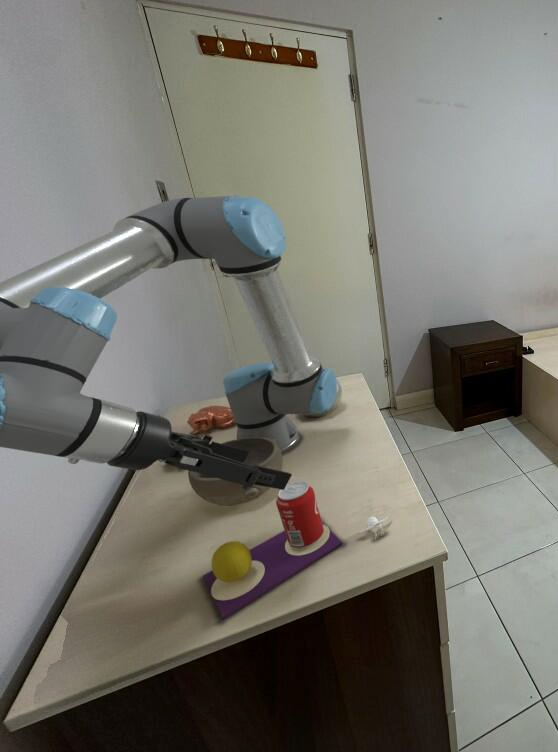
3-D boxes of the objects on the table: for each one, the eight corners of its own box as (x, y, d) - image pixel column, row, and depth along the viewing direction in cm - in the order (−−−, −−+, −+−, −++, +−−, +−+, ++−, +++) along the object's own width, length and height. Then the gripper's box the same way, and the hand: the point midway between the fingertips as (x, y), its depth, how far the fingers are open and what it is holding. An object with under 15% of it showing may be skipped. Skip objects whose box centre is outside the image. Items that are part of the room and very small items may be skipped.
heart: (185, 406, 121) (184, 426, 110) (233, 397, 128) (237, 416, 117) (190, 423, 123) (189, 445, 112) (236, 414, 130) (240, 434, 119)
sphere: (288, 412, 129) (305, 428, 119) (277, 372, 123) (294, 385, 114) (333, 397, 139) (353, 411, 129) (325, 359, 133) (345, 370, 123)
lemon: (231, 566, 72) (217, 533, 69) (262, 564, 73) (250, 530, 70) (212, 594, 67) (197, 559, 64) (246, 591, 68) (233, 556, 64)
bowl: (278, 507, 88) (267, 469, 84) (185, 525, 83) (168, 487, 79) (294, 463, 103) (285, 429, 99) (216, 476, 98) (203, 442, 95)
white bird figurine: (387, 512, 84) (387, 499, 82) (397, 529, 82) (398, 516, 79) (349, 531, 79) (349, 519, 77) (360, 550, 77) (359, 538, 74)
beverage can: (331, 531, 80) (319, 482, 75) (307, 555, 74) (292, 504, 70) (307, 524, 82) (293, 476, 77) (281, 547, 76) (265, 497, 72)
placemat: (203, 578, 71) (202, 575, 71) (315, 516, 85) (314, 513, 85) (223, 619, 64) (222, 617, 63) (342, 544, 77) (341, 541, 77)
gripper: (73, 438, 58) (218, 468, 75) (140, 496, 45) (295, 515, 63) (106, 391, 60) (239, 431, 77) (179, 434, 48) (318, 470, 65)
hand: (264, 469), depth 70 cm, fingers open, 13 cm apart
